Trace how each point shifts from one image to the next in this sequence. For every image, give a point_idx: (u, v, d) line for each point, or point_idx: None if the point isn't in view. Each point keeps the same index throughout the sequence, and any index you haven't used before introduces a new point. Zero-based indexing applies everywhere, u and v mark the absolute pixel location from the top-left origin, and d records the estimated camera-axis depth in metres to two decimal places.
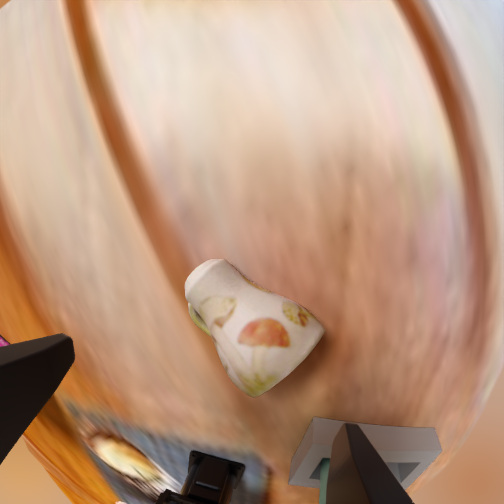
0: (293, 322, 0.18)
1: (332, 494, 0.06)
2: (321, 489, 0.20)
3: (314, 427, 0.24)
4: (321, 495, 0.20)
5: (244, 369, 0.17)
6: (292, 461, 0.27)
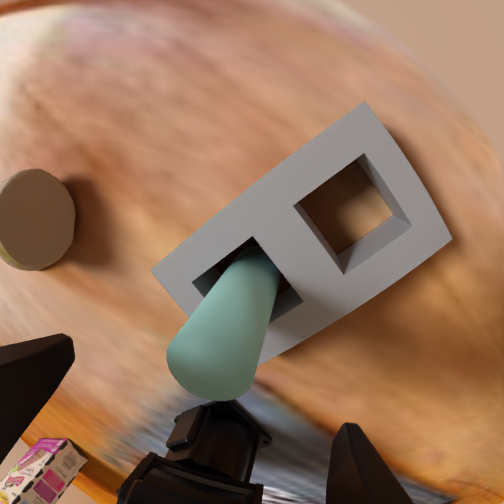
0: None
1: (332, 494, 0.06)
2: None
3: None
4: None
5: None
6: None
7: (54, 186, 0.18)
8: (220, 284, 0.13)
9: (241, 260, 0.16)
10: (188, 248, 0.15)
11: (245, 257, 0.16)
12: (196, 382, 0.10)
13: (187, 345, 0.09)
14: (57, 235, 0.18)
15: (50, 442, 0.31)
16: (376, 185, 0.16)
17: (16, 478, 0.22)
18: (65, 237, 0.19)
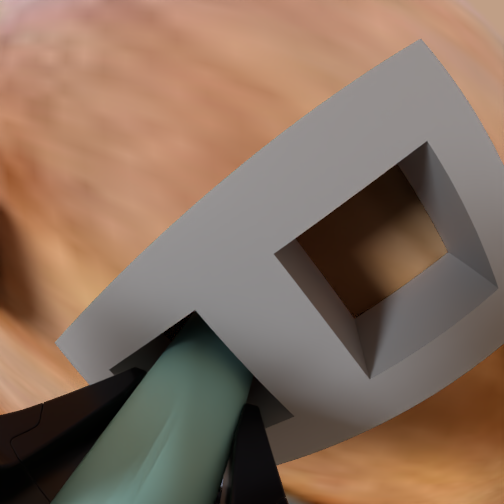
0: None
1: (225, 476, 0.06)
2: None
3: None
4: None
5: None
6: None
7: None
8: (126, 415, 0.06)
9: (184, 342, 0.09)
10: (95, 319, 0.08)
11: (194, 334, 0.09)
12: None
13: None
14: None
15: None
16: (428, 203, 0.08)
17: None
18: None
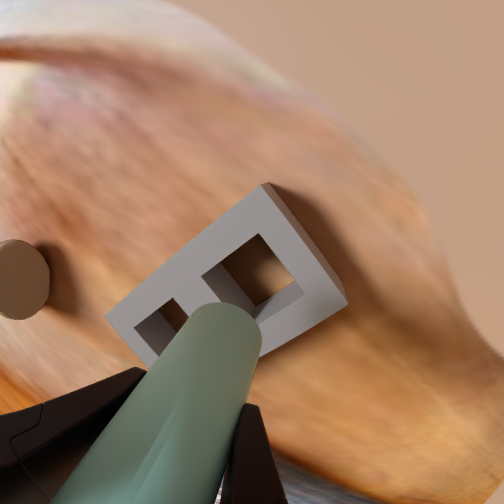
0: None
1: (225, 476, 0.06)
2: None
3: None
4: None
5: None
6: None
7: (31, 254, 0.21)
8: (125, 414, 0.06)
9: (184, 341, 0.08)
10: (128, 302, 0.19)
11: (193, 333, 0.09)
12: None
13: None
14: (36, 293, 0.22)
15: None
16: None
17: None
18: (42, 294, 0.22)
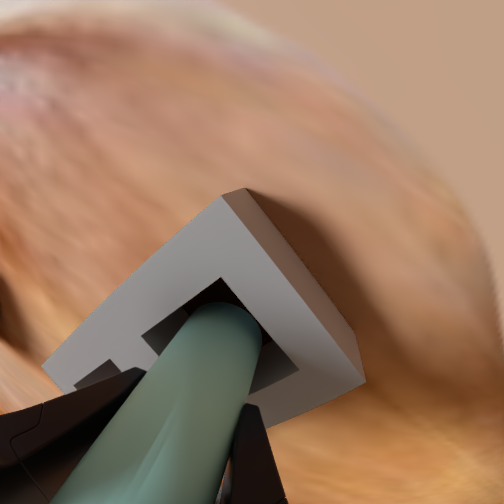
0: None
1: (225, 476, 0.06)
2: None
3: None
4: None
5: None
6: None
7: None
8: (125, 414, 0.06)
9: (184, 341, 0.08)
10: (61, 356, 0.12)
11: (193, 333, 0.09)
12: None
13: None
14: None
15: None
16: None
17: None
18: None
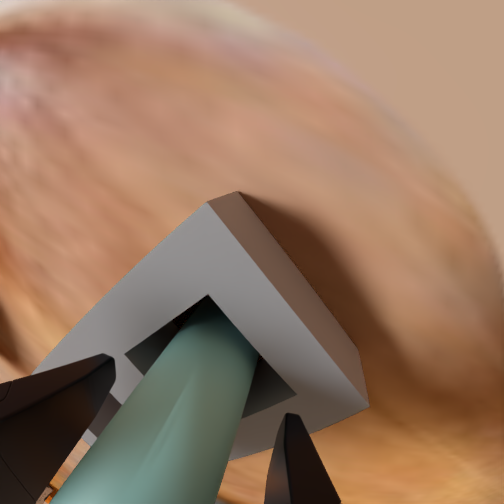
0: None
1: (269, 486, 0.06)
2: None
3: None
4: None
5: None
6: None
7: None
8: (144, 388, 0.06)
9: (195, 325, 0.09)
10: (46, 369, 0.11)
11: (203, 318, 0.10)
12: None
13: None
14: None
15: None
16: None
17: None
18: None
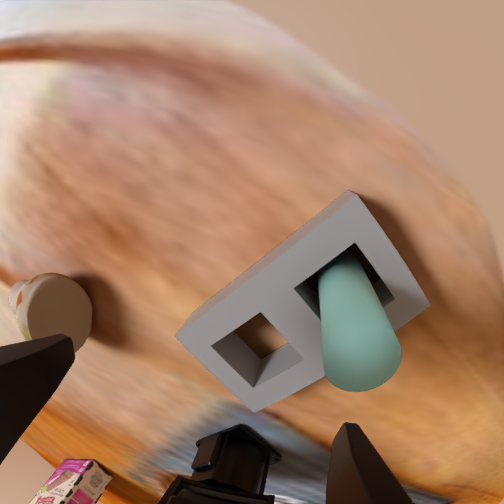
0: (26, 285, 0.19)
1: (332, 494, 0.06)
2: None
3: (186, 321, 0.21)
4: None
5: (21, 333, 0.18)
6: None
7: (73, 290, 0.22)
8: (340, 287, 0.14)
9: (339, 264, 0.17)
10: (206, 320, 0.18)
11: (340, 261, 0.17)
12: (347, 377, 0.10)
13: (348, 343, 0.10)
14: (78, 329, 0.22)
15: (76, 462, 0.34)
16: None
17: (46, 498, 0.25)
18: (85, 329, 0.23)
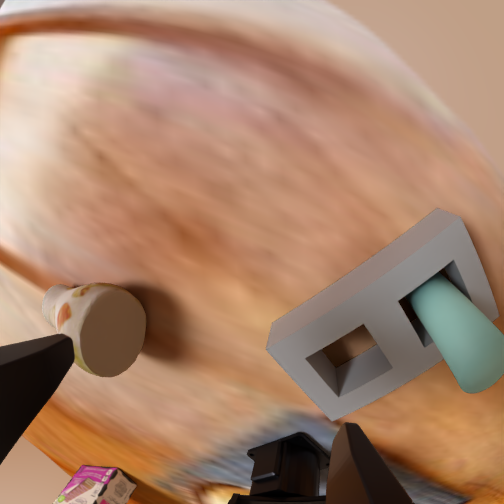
0: (75, 297, 0.18)
1: (332, 494, 0.06)
2: (433, 339, 0.13)
3: (270, 332, 0.20)
4: (437, 346, 0.13)
5: None
6: None
7: (130, 303, 0.21)
8: (452, 301, 0.13)
9: (434, 278, 0.16)
10: (306, 333, 0.17)
11: (433, 275, 0.16)
12: (472, 381, 0.10)
13: (482, 352, 0.09)
14: (131, 345, 0.21)
15: (96, 470, 0.33)
16: (448, 271, 0.18)
17: None
18: (138, 345, 0.22)
